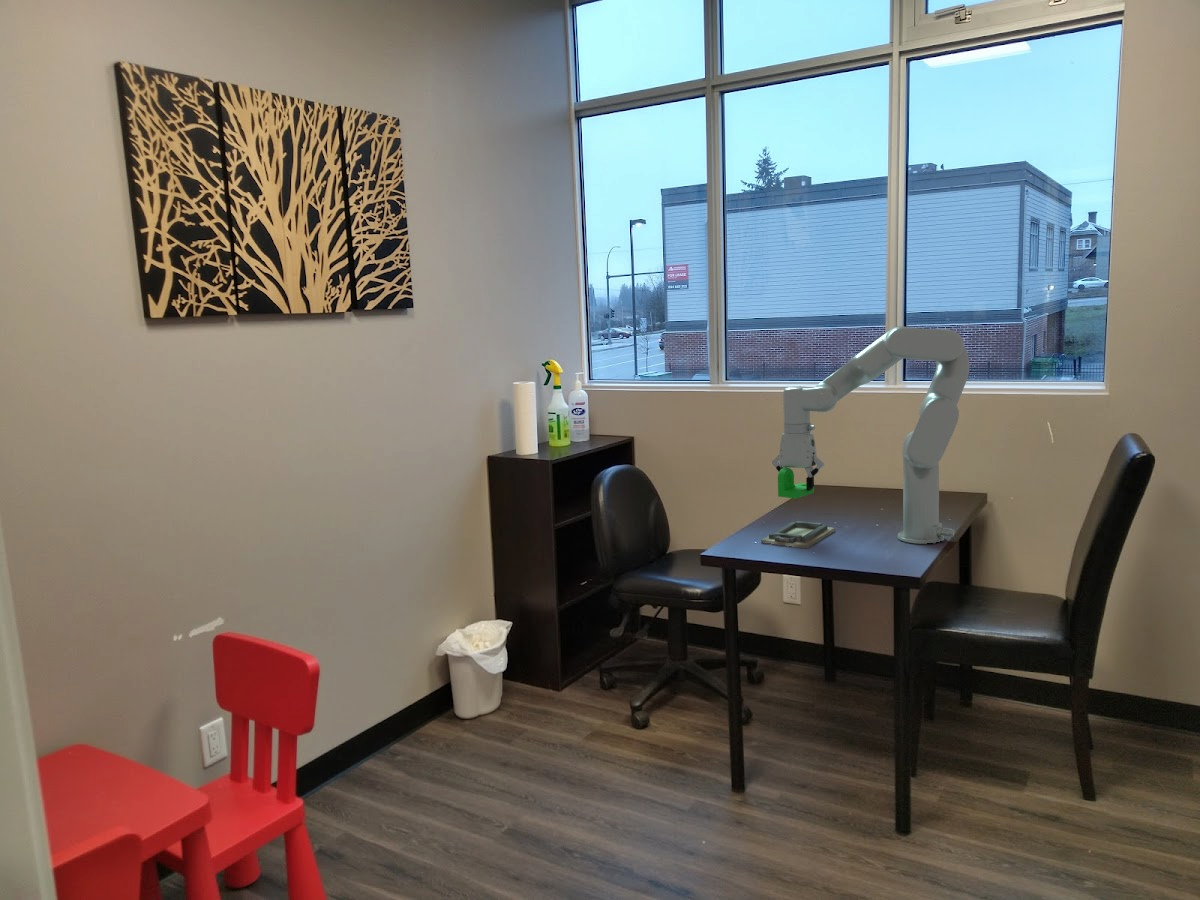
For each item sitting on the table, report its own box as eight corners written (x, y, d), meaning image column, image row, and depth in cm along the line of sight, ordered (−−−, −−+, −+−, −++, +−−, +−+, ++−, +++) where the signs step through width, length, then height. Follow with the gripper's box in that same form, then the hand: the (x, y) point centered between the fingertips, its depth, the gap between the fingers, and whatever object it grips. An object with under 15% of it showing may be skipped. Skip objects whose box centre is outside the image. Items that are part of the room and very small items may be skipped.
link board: (835, 531, 261) (834, 522, 260) (806, 548, 243) (806, 539, 243) (791, 526, 269) (791, 518, 268) (761, 543, 251) (761, 534, 251)
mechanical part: (796, 498, 248) (795, 471, 247) (778, 496, 252) (777, 469, 251) (817, 491, 256) (817, 464, 255) (800, 489, 260) (799, 463, 259)
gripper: (830, 428, 249) (831, 488, 252) (774, 426, 259) (775, 484, 262) (820, 431, 243) (821, 493, 246) (764, 429, 253) (765, 489, 256)
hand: (797, 488), depth 254 cm, fingers closed on mechanical part, 6 cm apart
